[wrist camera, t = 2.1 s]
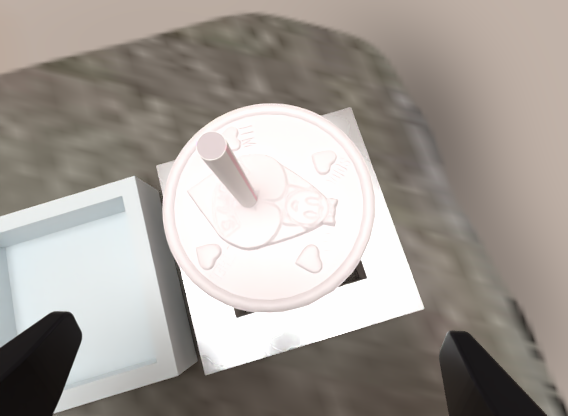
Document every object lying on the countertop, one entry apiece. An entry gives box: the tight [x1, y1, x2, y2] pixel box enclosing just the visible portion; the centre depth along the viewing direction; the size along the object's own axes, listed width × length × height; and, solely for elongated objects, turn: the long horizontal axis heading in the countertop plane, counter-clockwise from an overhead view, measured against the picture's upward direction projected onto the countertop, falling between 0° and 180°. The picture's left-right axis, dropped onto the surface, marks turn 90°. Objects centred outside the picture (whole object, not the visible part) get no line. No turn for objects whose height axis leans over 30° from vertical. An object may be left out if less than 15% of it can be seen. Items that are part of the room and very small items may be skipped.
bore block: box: [156, 107, 424, 375], centre depth 19 cm, size 10×10×2 cm
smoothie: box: [163, 104, 376, 313], centre depth 13 cm, size 6×6×14 cm
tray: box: [0, 176, 198, 414], centre depth 19 cm, size 10×10×3 cm
